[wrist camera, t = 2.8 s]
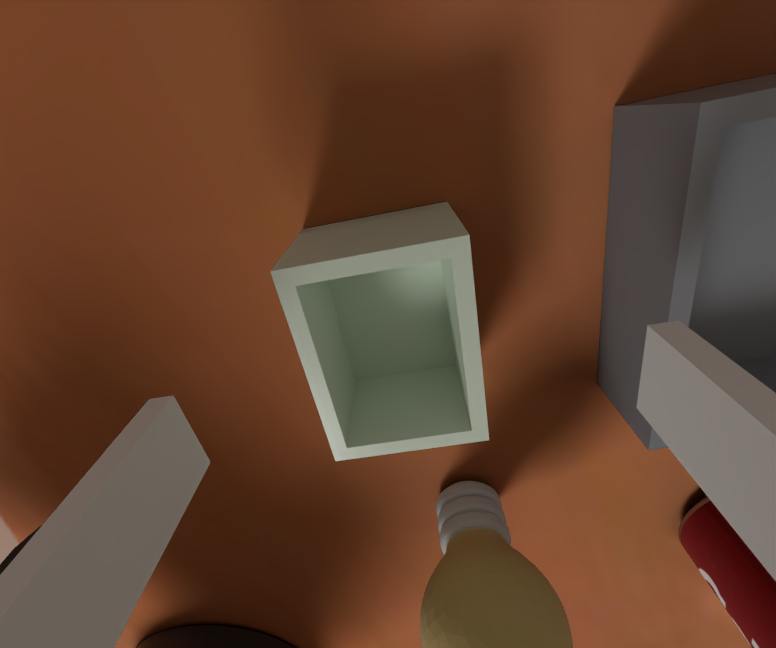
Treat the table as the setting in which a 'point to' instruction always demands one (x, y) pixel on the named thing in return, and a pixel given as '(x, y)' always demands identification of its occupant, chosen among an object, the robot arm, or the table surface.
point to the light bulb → (486, 582)
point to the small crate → (388, 330)
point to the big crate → (691, 233)
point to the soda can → (731, 572)
